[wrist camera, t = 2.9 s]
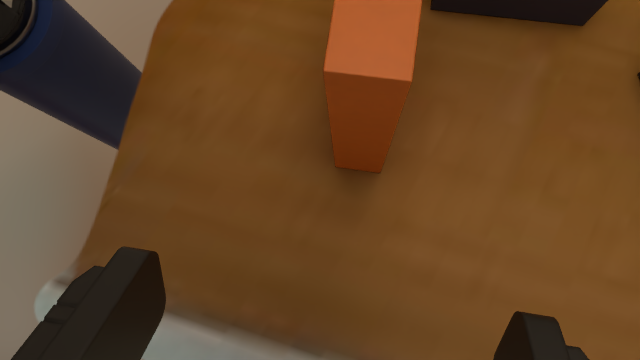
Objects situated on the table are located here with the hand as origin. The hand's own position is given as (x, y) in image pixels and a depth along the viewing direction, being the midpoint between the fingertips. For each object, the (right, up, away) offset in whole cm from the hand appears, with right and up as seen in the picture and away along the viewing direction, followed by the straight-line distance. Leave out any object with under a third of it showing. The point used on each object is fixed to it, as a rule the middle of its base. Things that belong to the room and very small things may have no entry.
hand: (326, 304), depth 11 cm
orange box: (+4, +10, +26) cm, 29 cm away
